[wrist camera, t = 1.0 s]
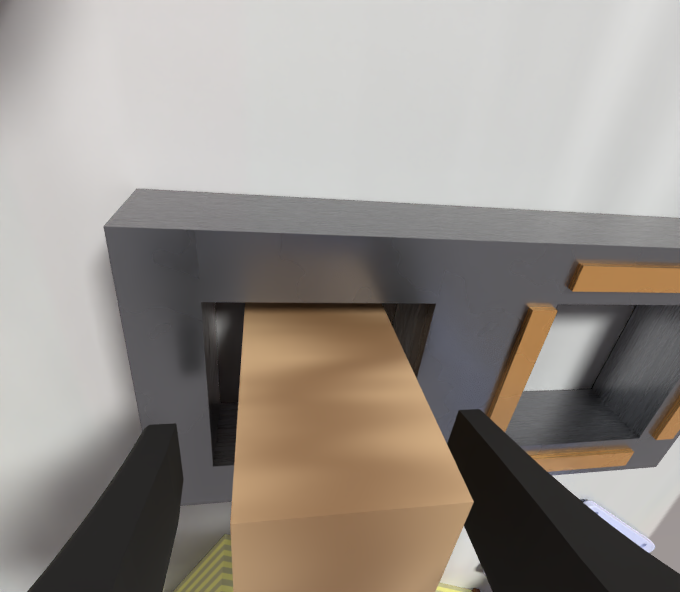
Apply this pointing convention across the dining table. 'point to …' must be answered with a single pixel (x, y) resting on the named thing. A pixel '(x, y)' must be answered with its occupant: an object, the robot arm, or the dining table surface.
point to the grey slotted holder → (406, 313)
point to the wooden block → (337, 458)
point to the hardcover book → (217, 577)
